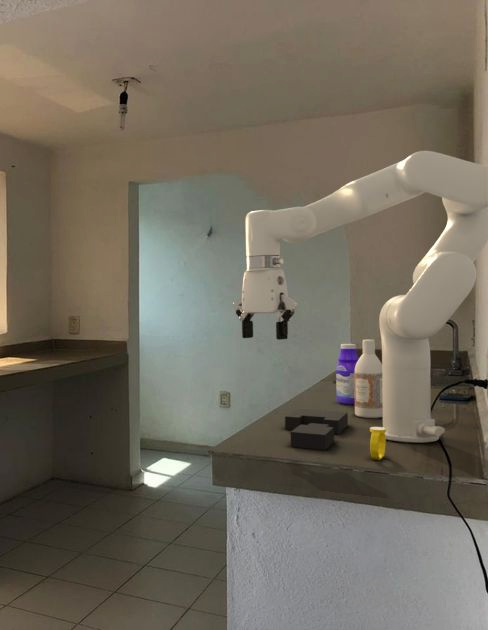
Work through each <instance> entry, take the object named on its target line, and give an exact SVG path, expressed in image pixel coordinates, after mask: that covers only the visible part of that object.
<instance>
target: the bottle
mask: <svg viewBox="0 0 488 630" xmlns="http://www.w3.org/2000/svg"><path fill="white" fill-rule="evenodd" d="M357 353H358V352H357V344H356V343H355V344H354V343H341V344H340V353H339V356H338V358H337V361H338V363H337V365H336V368H335V373H336V374H335V377H336V379H335V383H336V384H335V385H336V400H337V401H336V402H338V403H340V404H344V405H349V406H351V405H352V406H353V405H355V374H354V372H355V366H356V363H357V361H358V360H359V358H360V357H358V354H357Z"/></svg>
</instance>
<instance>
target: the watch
mask: <svg viewBox="0 0 488 630" xmlns="http://www.w3.org/2000/svg"><path fill="white" fill-rule="evenodd" d="M369 432H370V433H371V434H370V441H369V449H370V450H369V452H370V457H371V458H372V459H373V460H376V461H381V460H382V459H383V457H385V454H386V445H387V444H386V443H387V442H386V441H387V439H386V438H385V432H386V429H385V428H383V426H370V427H369Z"/></svg>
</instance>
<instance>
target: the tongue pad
mask: <svg viewBox="0 0 488 630" xmlns="http://www.w3.org/2000/svg"><path fill="white" fill-rule="evenodd" d="M334 442H335V434H334V427H329V425H328V424H315V423H310V424H309V425H299V426H298V427H297V428H295V429H294V430H290V447H291V448H299V449H308V450H309V449H310V450H317V451H318V450H319V451H327V449H328V448H329V447H330V446H331V445H332V444H334Z"/></svg>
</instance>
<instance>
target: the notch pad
mask: <svg viewBox="0 0 488 630" xmlns="http://www.w3.org/2000/svg"><path fill="white" fill-rule="evenodd" d="M348 416H349V415H348V411H336V410H335V411H333V410H319V409H307V408H296V409H295V410H293V411H291V412H290V413H288V414H287V415H285V416H284V429H285V430H286V431H293V430H294V429H295V428H297V427H298V426H299V425H309V424H310V423H315V424H328V425H329V427H334V435H340V434H341V432H343V431H344V430H345V429H346V428H347V427H348V426H349V419H348V418H349V417H348Z"/></svg>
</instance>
